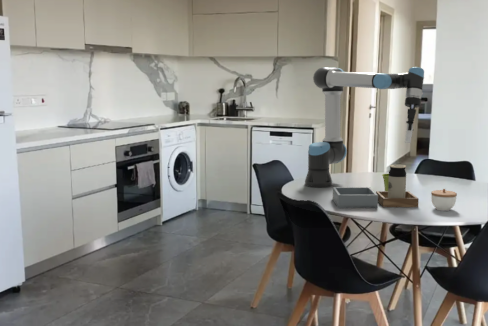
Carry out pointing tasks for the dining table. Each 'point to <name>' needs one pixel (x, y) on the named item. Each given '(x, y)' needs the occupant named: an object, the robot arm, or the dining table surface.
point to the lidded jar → (443, 199)
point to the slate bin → (355, 197)
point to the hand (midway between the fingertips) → (408, 140)
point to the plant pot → (386, 181)
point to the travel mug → (397, 181)
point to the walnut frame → (397, 200)
